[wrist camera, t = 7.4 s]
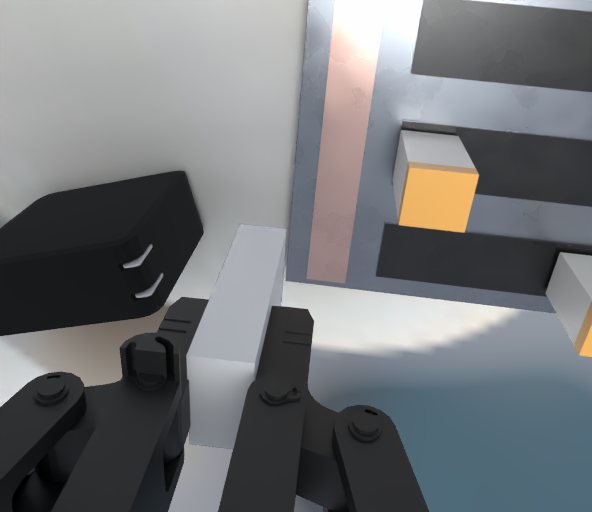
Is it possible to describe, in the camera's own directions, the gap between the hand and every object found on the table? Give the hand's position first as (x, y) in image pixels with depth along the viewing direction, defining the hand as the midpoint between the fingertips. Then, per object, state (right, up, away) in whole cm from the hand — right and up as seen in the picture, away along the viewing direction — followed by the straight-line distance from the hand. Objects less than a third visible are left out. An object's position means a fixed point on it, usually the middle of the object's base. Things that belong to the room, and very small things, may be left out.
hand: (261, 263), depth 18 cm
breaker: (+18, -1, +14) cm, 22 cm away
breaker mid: (+8, +5, +12) cm, 15 cm away
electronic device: (-10, +3, +18) cm, 21 cm away
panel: (+13, +6, +13) cm, 20 cm away
